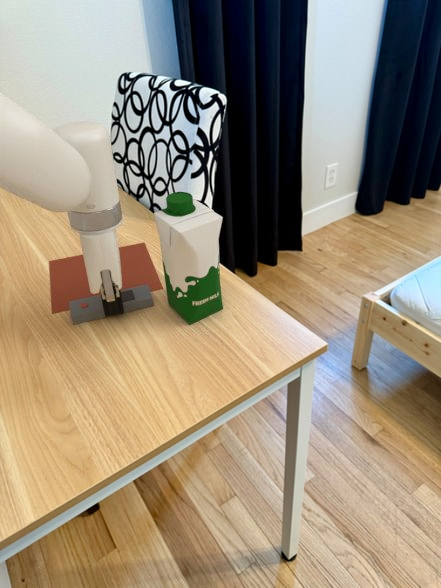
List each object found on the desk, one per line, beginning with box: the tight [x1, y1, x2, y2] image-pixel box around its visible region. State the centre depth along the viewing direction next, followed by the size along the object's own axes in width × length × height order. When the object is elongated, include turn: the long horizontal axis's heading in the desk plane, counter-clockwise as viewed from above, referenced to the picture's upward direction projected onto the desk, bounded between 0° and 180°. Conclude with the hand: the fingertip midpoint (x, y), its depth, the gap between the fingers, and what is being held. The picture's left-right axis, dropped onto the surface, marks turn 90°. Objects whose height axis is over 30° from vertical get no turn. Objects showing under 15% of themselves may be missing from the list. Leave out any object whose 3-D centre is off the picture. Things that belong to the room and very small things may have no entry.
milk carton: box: [153, 191, 224, 326], centre depth 69 cm, size 9×9×20 cm
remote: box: [69, 284, 155, 326], centre depth 75 cm, size 14×4×2 cm, turn 109°
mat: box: [48, 242, 164, 315], centre depth 84 cm, size 20×18×1 cm
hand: (114, 312), depth 73 cm, fingers closed
